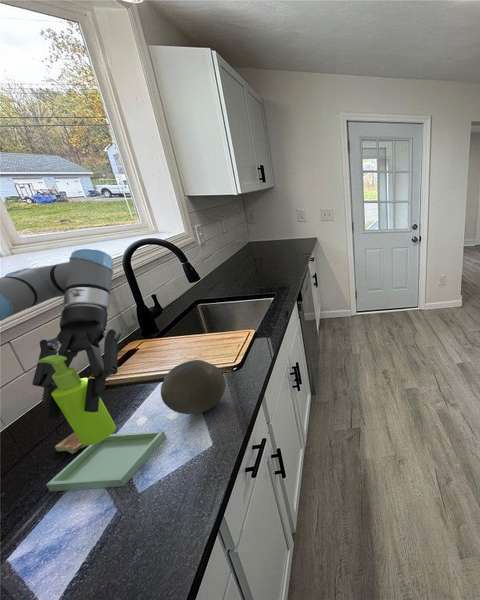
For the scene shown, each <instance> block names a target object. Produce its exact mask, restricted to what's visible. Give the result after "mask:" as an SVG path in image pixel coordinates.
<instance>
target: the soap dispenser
mask: <svg viewBox="0 0 480 600" xmlns="http://www.w3.org/2000/svg"><path fill="white" fill-rule="evenodd" d="M65 360H67V358H66V357H64V356H59V355H58V354H57V355H50V356H47V357H45V358H43V359H41V360H39V359H38V360H37V363H38V362H39V363H42V362H44V363H50V364H51V365H52V366H53V368H54V370H55V371H56V372H55V373H54V374H53V375H52V378H53V380H54V382H55V383H56V385H57V387H58V388H56V389H55V390H54V391H53V392H52V396H53V398H54V400H55V401H56V403H57V404H58V406H59V408H60V409H61V410H60V412H61V413H62V414H63V416H64V418H65V419H66V421H67V422H68V424H69V426H70V427H71V429H72V431H73V433H74V432H75V434H76V435H77V437H78V438H79V440H80V442H81V443H82V444H83V445H88V446H89V445H91V444H95V443H98V442H100V441H102V440H104V439H106V438H107V437H109V436H110V435H111V434H114V433H115V431H116V429H117V425H116V423H115V421H114V420H113V418H112V416H111V414H110V412H109V411H108V408H107V407H106V405H105V404H104V402H103V399H102V398H101V396H100V397H99V407H98V412H87V411H84V408H85V400H86V392H87V384H88V379H90V378H89V377H82V378H81V377H80V375H79V373H78V372H77V370H76V368H74V367H69V368H67V366H66V364H65V362H64V361H65Z"/></svg>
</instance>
